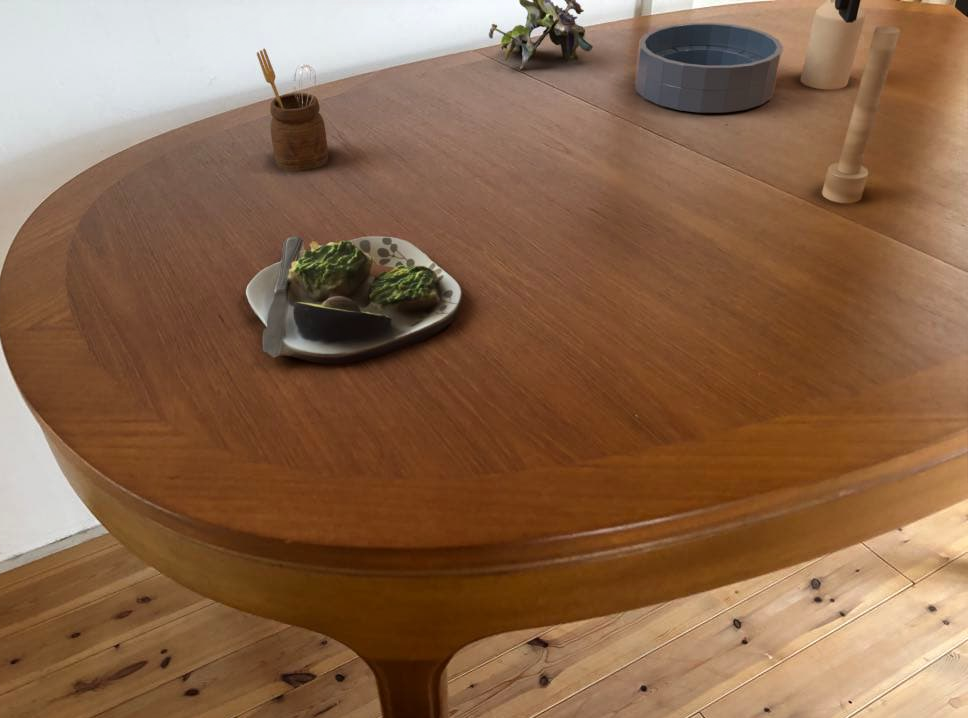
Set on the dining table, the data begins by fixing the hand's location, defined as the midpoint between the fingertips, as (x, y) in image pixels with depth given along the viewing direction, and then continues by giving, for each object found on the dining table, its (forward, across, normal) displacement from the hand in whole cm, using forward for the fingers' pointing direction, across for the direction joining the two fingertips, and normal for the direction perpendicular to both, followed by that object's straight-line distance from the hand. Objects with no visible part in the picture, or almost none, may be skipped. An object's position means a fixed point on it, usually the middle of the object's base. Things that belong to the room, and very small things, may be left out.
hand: (905, 15), depth 77 cm
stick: (+17, -2, -1) cm, 17 cm away
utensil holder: (+15, -58, +7) cm, 60 cm away
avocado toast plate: (+16, -47, -22) cm, 54 cm away
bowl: (+16, -12, +27) cm, 34 cm away
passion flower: (+16, -32, +38) cm, 52 cm away
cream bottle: (+17, +3, +30) cm, 35 cm away
